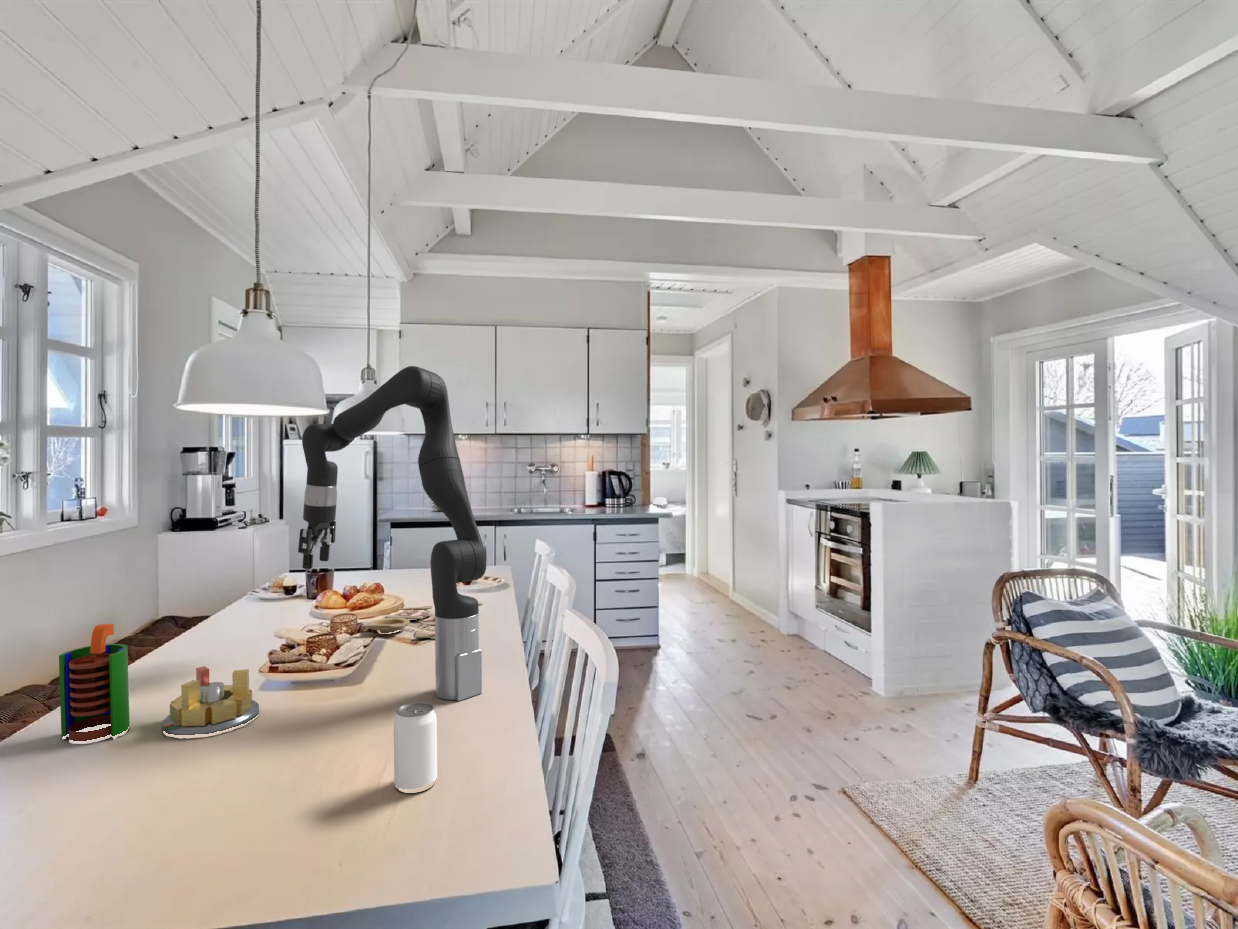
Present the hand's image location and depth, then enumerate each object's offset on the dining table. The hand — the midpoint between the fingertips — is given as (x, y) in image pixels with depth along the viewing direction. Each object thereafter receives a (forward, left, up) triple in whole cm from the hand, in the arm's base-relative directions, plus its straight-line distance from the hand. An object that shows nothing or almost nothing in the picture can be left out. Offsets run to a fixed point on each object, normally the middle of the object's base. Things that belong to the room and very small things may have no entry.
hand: (315, 564), depth 169 cm
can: (-77, +20, -24) cm, 83 cm away
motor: (-15, +48, -24) cm, 56 cm away
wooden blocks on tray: (-25, +32, -22) cm, 46 cm away
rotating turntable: (-25, +32, -24) cm, 47 cm away
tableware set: (+6, -35, -24) cm, 43 cm away
